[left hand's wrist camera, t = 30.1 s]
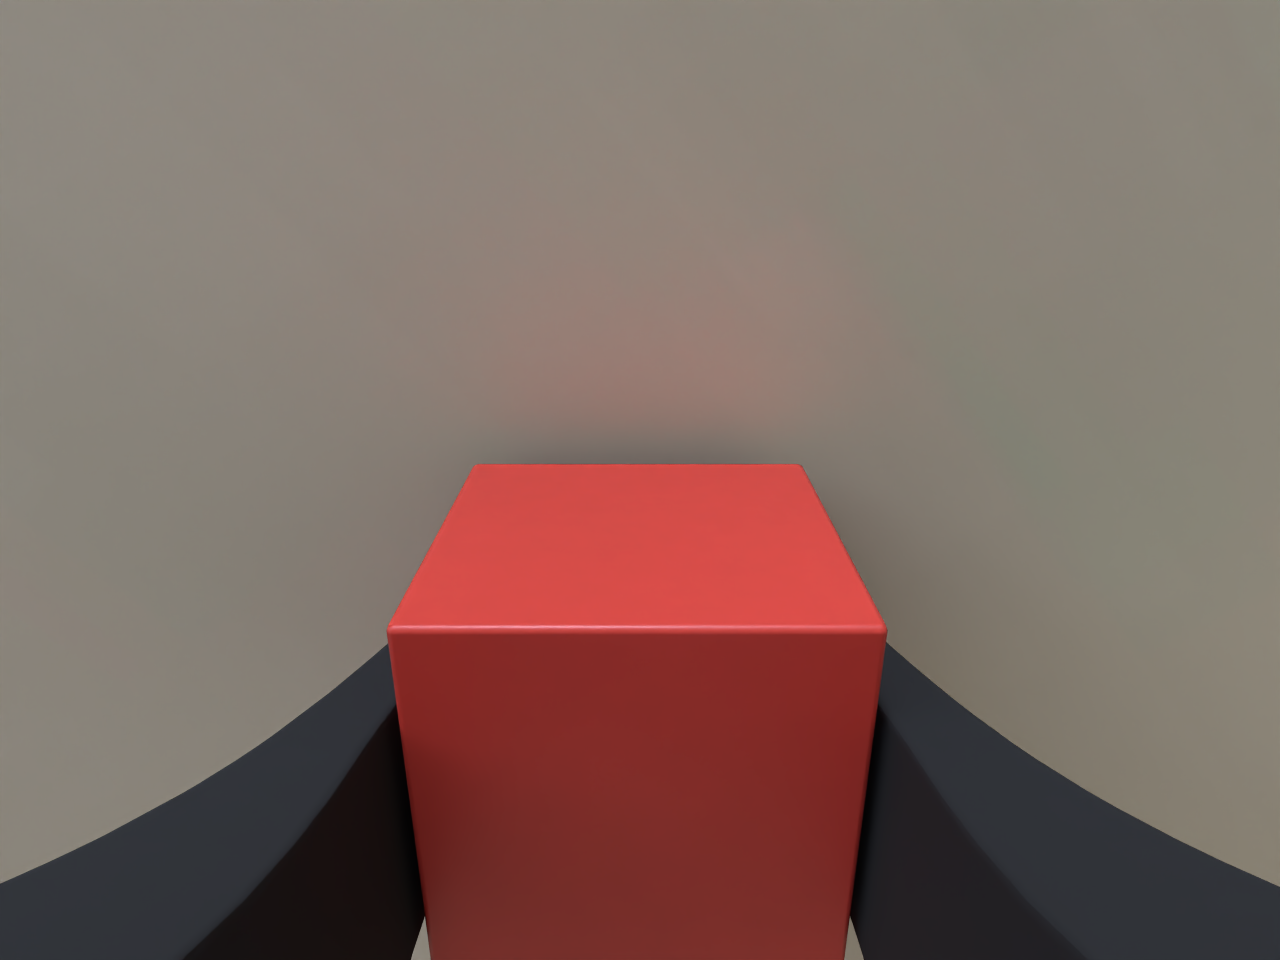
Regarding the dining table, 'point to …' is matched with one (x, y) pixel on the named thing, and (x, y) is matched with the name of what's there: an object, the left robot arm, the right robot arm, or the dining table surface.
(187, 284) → the dining table surface
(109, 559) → the dining table surface
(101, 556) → the dining table surface
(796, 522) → the block
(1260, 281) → the dining table surface
